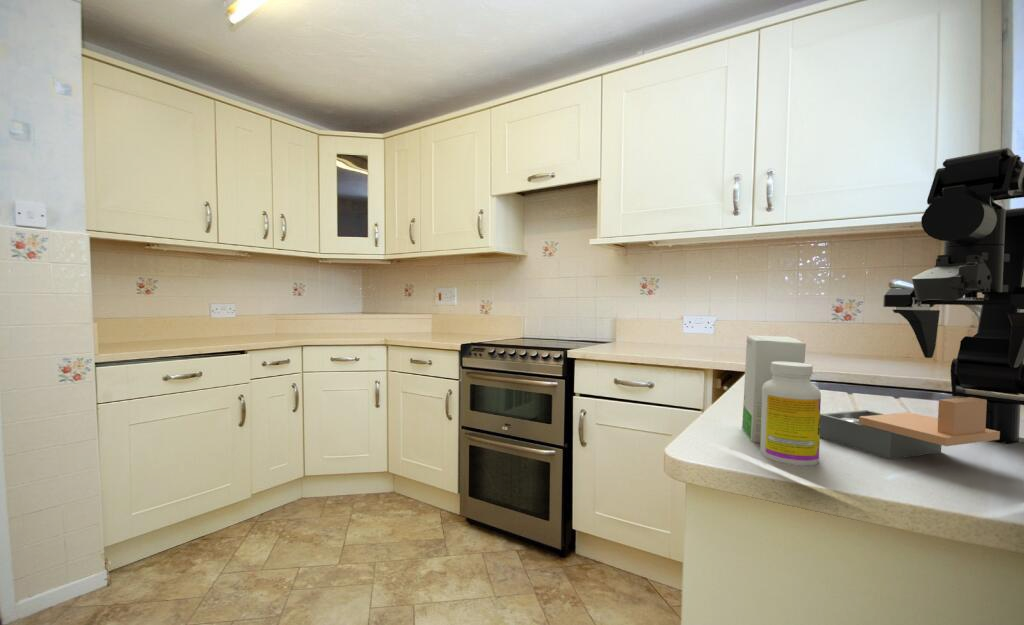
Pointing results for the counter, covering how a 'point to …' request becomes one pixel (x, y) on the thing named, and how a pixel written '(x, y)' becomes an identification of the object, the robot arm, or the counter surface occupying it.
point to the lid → (940, 423)
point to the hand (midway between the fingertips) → (968, 362)
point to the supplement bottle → (790, 415)
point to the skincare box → (764, 374)
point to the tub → (871, 436)
